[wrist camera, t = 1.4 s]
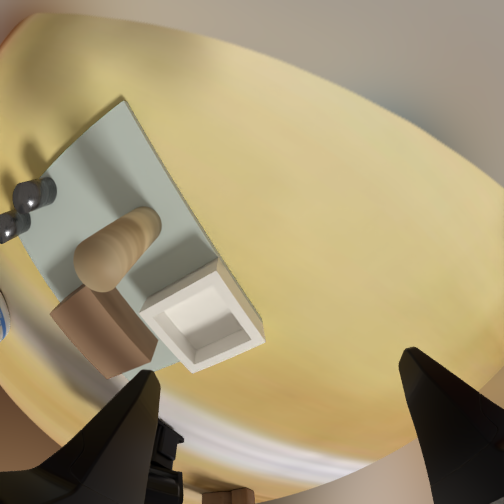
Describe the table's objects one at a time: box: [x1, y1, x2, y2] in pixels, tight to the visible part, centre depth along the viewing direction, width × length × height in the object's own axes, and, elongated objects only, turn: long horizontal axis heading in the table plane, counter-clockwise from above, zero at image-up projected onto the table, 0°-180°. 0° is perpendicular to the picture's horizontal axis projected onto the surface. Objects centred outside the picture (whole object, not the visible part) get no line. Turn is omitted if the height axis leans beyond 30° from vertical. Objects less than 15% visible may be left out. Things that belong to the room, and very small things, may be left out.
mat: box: [18, 100, 263, 381], centre depth 20 cm, size 16×21×1 cm
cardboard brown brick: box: [50, 284, 158, 379], centre depth 20 cm, size 6×8×3 cm
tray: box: [139, 257, 266, 373], centre depth 21 cm, size 7×7×2 cm
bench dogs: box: [0, 177, 57, 244], centre depth 16 cm, size 7×2×4 cm, turn 119°
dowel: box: [73, 206, 162, 292], centre depth 15 cm, size 3×3×8 cm
